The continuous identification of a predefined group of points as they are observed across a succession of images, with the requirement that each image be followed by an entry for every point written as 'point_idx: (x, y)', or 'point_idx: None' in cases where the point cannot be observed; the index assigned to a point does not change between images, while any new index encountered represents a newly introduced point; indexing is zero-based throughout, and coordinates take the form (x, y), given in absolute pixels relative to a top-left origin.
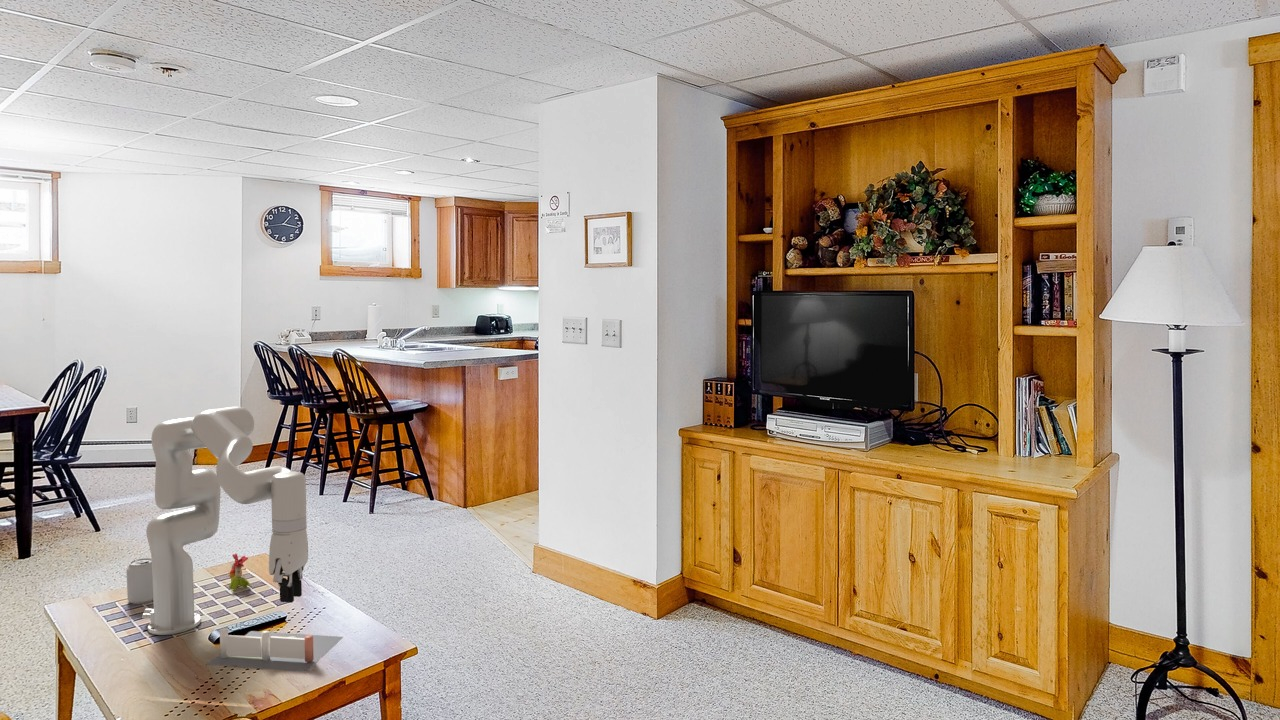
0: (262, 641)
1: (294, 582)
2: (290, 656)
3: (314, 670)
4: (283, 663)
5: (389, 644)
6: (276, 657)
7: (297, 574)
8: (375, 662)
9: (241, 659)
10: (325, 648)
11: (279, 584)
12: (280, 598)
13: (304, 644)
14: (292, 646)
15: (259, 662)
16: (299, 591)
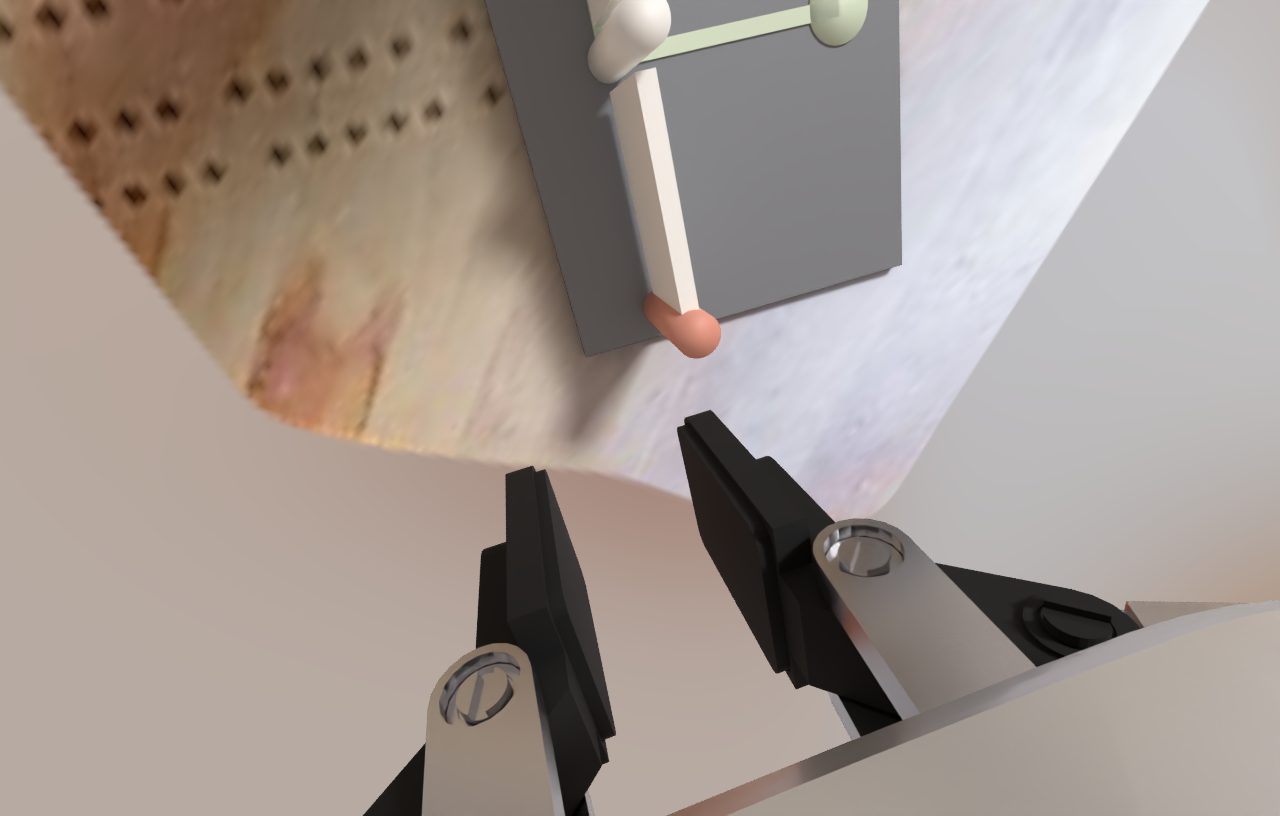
0: (607, 26)
1: (763, 608)
2: (638, 217)
3: (620, 362)
4: (604, 196)
5: (880, 459)
6: None
7: (886, 695)
8: None
9: None
10: (788, 273)
11: (392, 792)
12: (506, 498)
13: (674, 307)
14: (654, 235)
15: (564, 51)
16: (723, 574)
